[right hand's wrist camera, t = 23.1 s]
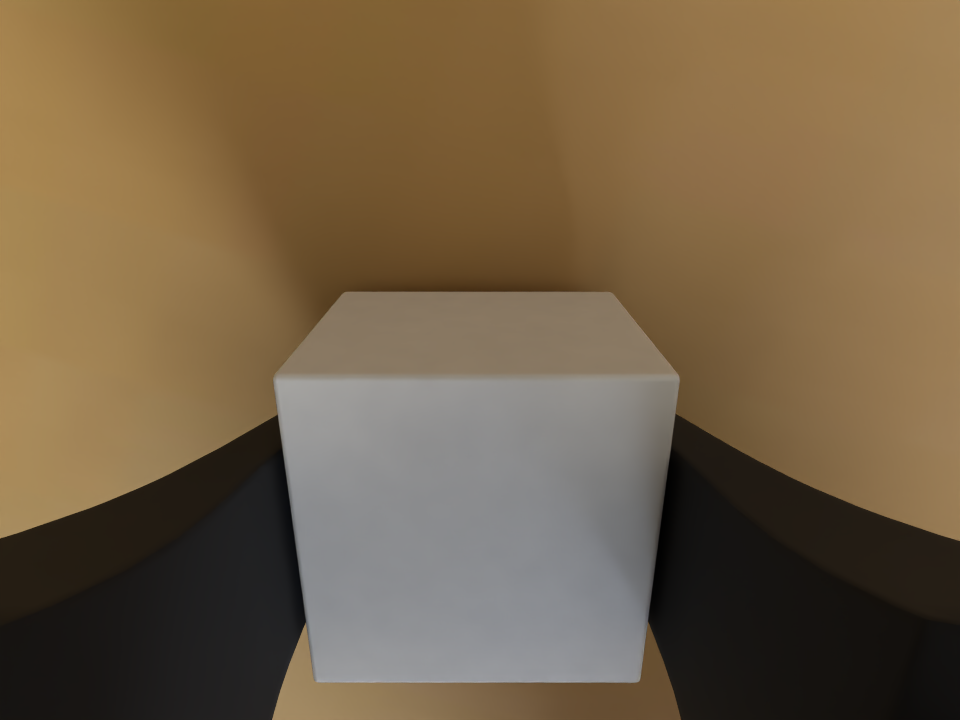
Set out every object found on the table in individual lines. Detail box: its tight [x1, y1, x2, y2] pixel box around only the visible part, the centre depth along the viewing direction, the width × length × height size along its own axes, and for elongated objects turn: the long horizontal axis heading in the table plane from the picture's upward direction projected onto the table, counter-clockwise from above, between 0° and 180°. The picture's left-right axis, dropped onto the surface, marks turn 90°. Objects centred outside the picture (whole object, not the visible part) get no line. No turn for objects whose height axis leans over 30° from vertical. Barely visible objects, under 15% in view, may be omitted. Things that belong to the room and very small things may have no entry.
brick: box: [273, 292, 680, 683], centre depth 10 cm, size 5×5×4 cm
